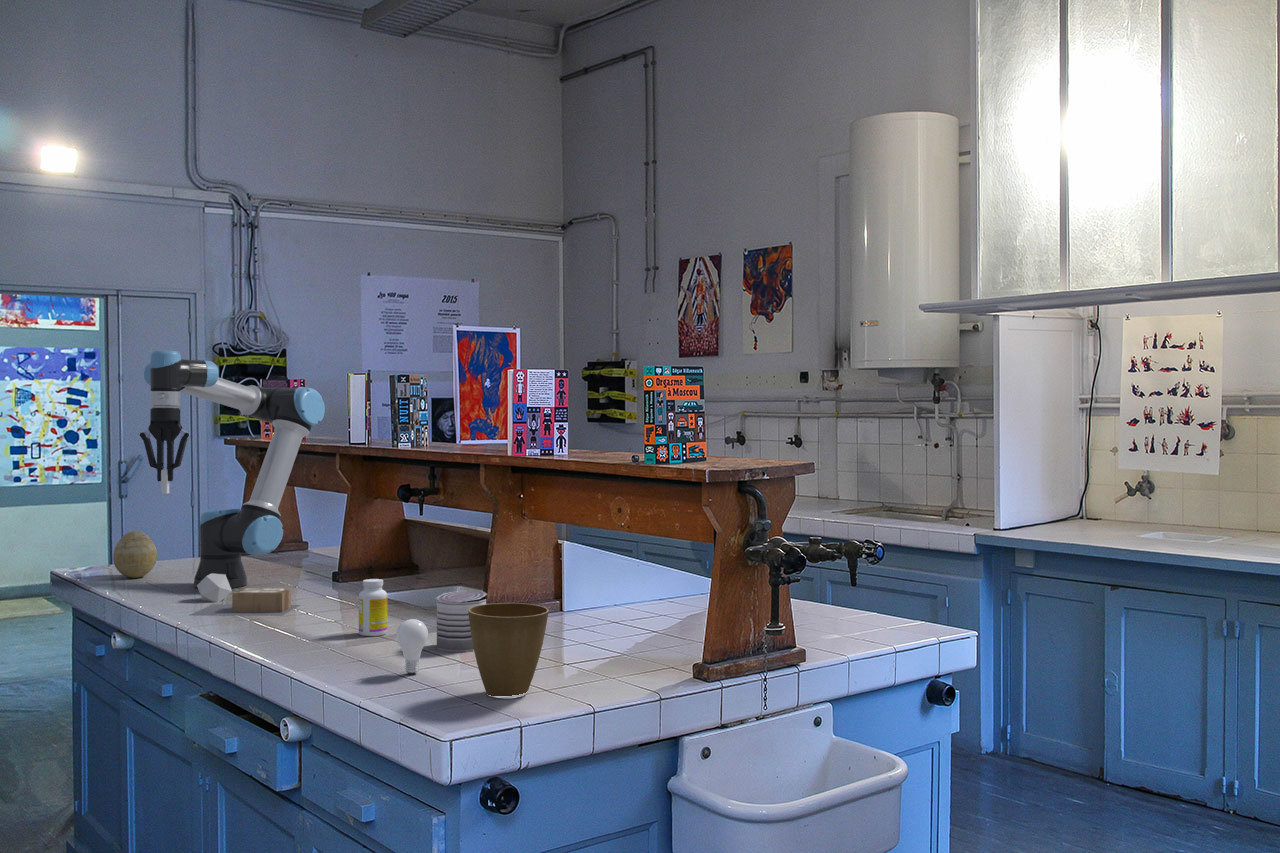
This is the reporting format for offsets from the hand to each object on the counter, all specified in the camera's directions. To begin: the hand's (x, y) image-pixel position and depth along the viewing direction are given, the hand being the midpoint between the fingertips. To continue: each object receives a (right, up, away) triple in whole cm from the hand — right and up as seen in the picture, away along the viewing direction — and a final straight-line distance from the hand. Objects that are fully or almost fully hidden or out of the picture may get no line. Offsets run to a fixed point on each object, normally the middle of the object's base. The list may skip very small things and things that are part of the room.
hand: (165, 493), depth 295 cm
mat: (+26, -31, -10) cm, 41 cm away
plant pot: (+105, -32, -94) cm, 145 cm away
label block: (+24, -28, -10) cm, 38 cm away
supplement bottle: (+66, -31, -39) cm, 83 cm away
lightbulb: (+84, -32, -78) cm, 119 cm away
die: (+12, -31, +4) cm, 33 cm away
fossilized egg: (-31, -30, +49) cm, 65 cm away
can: (+90, -32, -52) cm, 109 cm away
